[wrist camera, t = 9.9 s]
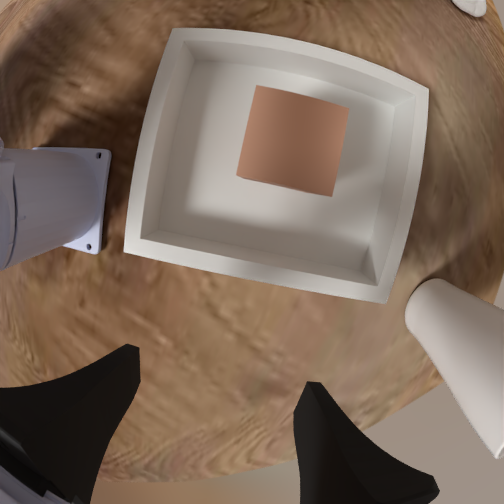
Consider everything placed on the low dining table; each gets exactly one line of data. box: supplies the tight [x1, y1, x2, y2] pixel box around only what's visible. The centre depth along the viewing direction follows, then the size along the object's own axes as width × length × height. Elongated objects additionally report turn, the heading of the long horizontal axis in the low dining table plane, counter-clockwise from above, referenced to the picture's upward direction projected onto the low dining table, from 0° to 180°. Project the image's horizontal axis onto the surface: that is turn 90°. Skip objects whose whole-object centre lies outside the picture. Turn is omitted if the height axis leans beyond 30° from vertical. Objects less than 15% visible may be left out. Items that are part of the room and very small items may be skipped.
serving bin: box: [124, 28, 429, 304], centre depth 15 cm, size 16×14×4 cm
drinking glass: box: [405, 278, 504, 459], centre depth 12 cm, size 7×7×15 cm
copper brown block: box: [236, 85, 349, 197], centre depth 13 cm, size 4×4×6 cm
